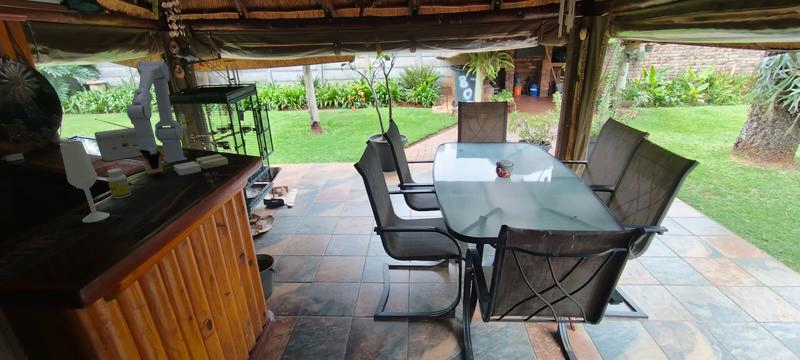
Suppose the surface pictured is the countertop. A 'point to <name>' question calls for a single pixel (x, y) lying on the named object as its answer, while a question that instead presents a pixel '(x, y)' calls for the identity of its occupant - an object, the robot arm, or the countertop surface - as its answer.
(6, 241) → the countertop surface
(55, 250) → the countertop surface
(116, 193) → the supplement bottle
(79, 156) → the champagne flute
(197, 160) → the olive block
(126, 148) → the stereo radio cassette player
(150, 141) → the robot arm
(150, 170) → the terracotta cube
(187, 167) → the grey block
